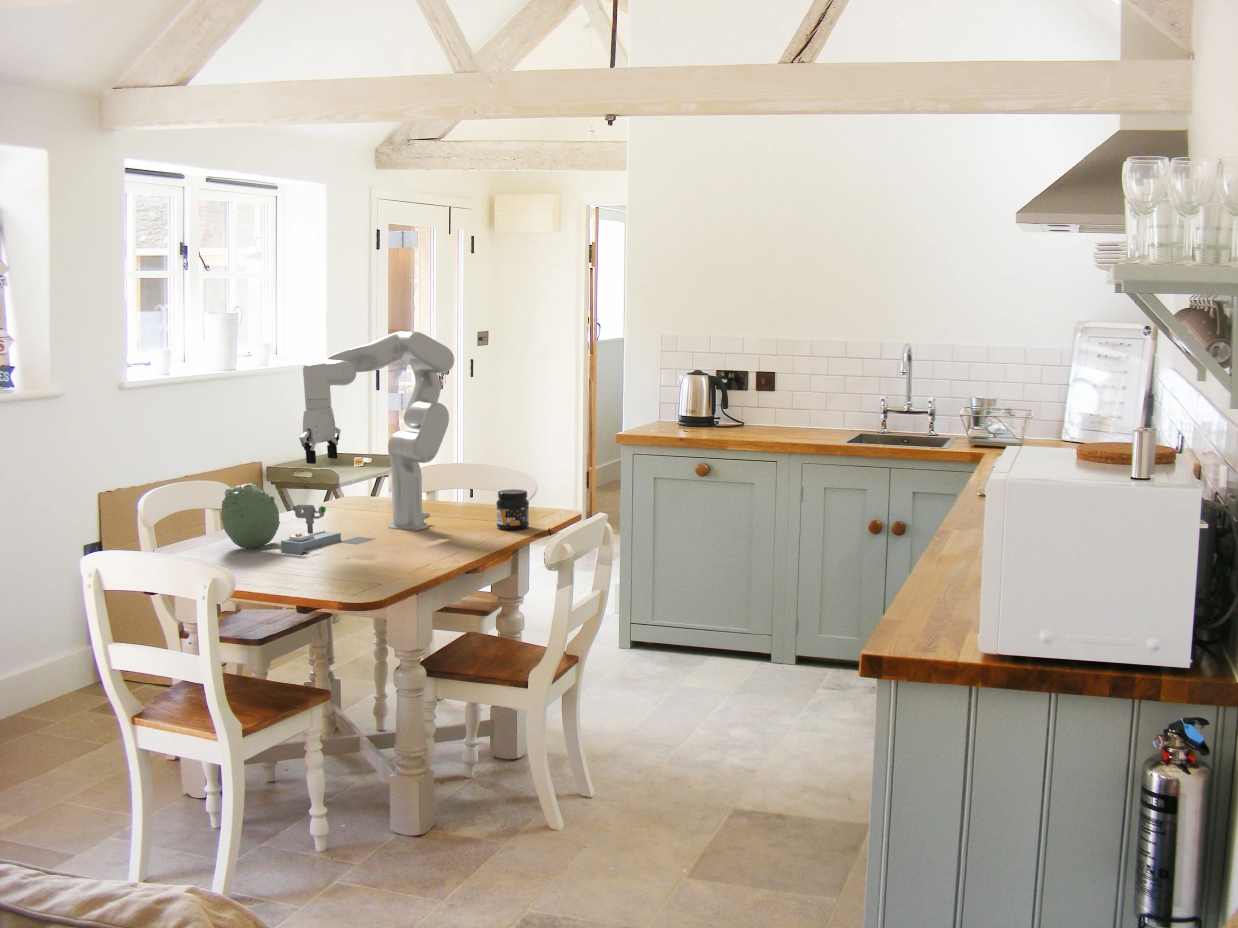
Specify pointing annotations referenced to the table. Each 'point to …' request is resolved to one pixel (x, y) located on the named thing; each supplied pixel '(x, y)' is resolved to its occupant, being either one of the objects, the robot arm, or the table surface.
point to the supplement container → (512, 510)
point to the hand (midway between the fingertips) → (322, 460)
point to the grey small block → (301, 537)
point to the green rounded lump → (249, 516)
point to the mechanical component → (308, 514)
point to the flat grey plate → (357, 540)
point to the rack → (309, 543)
